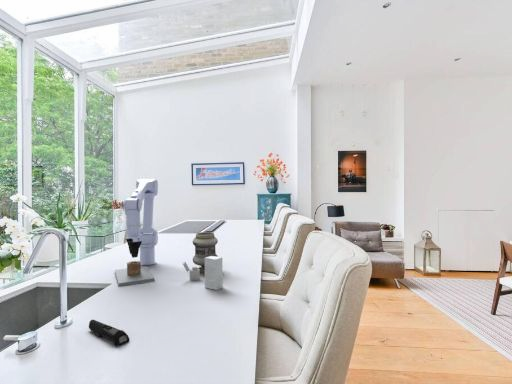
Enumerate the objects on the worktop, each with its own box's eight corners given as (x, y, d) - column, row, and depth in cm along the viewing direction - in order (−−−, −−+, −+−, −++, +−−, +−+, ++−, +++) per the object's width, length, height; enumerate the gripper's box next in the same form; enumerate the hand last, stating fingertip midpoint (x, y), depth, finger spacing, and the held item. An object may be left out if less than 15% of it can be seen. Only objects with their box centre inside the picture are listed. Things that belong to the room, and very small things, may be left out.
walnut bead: (126, 273, 134) (126, 262, 134) (139, 271, 136) (139, 260, 136) (128, 276, 129) (127, 264, 129) (141, 274, 132) (141, 263, 132)
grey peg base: (114, 272, 139) (114, 259, 139) (146, 268, 146) (146, 256, 146) (118, 286, 120) (118, 271, 120) (154, 280, 127) (154, 267, 126)
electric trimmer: (98, 327, 86) (98, 316, 86) (130, 341, 77) (130, 329, 77) (85, 332, 83) (85, 321, 83) (117, 348, 74) (116, 336, 74)
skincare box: (223, 287, 118) (222, 257, 118) (216, 290, 115) (216, 259, 115) (211, 284, 122) (210, 255, 121) (204, 287, 118) (204, 257, 118)
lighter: (199, 278, 130) (199, 260, 130) (199, 279, 128) (199, 261, 128) (182, 279, 128) (182, 261, 128) (182, 281, 126) (182, 262, 126)
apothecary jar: (187, 272, 139) (187, 233, 139) (203, 266, 150) (203, 230, 149) (208, 275, 133) (208, 235, 133) (223, 269, 144) (223, 232, 144)
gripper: (145, 226, 128) (145, 257, 129) (140, 222, 141) (140, 251, 141) (127, 227, 125) (127, 259, 125) (124, 223, 138) (124, 252, 138)
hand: (133, 255), depth 133 cm, fingers open, 7 cm apart
